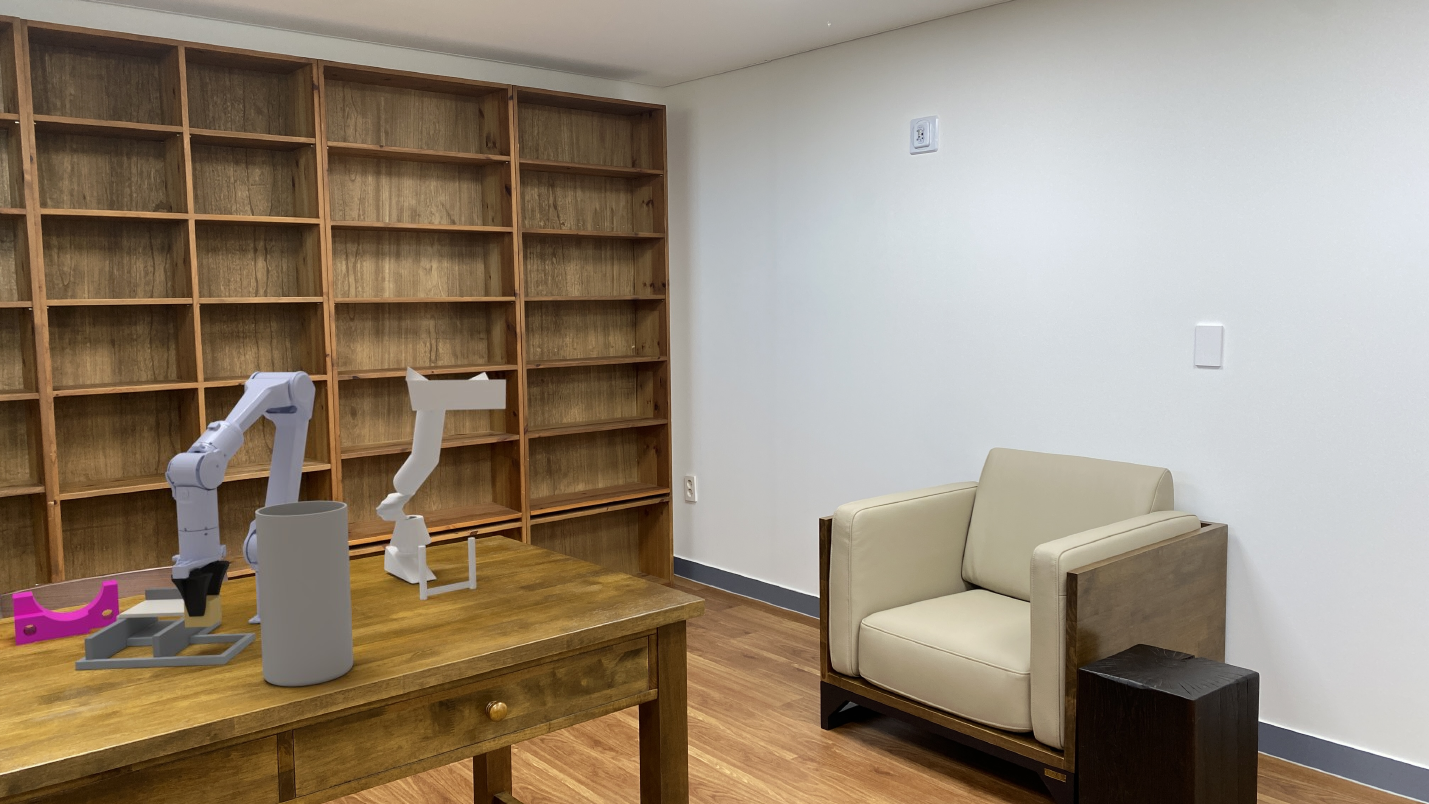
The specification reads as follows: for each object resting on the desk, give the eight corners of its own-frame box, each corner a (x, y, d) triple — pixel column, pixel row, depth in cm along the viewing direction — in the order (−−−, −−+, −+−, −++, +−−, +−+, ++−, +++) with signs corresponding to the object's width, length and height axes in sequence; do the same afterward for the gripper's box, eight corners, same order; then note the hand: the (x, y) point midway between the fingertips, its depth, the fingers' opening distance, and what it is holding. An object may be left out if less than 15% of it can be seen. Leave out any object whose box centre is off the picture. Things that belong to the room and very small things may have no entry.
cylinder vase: (367, 672, 146) (361, 507, 144) (282, 695, 137) (274, 519, 135) (332, 653, 155) (326, 498, 153) (250, 673, 146) (242, 508, 144)
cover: (220, 604, 171) (219, 585, 170) (195, 620, 161) (194, 601, 161) (147, 606, 170) (146, 588, 169) (116, 623, 160) (115, 603, 160)
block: (222, 619, 158) (220, 594, 157) (211, 626, 154) (210, 601, 153) (196, 620, 157) (195, 595, 157) (184, 627, 153) (183, 602, 153)
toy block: (16, 646, 161) (13, 601, 161) (15, 636, 166) (12, 593, 166) (121, 629, 170) (119, 586, 170) (117, 620, 175) (115, 579, 175)
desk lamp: (338, 584, 198) (329, 363, 195) (423, 569, 210) (415, 360, 207) (419, 624, 170) (410, 366, 167) (512, 603, 182) (505, 363, 179)
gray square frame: (276, 623, 172) (275, 598, 171) (224, 664, 150) (223, 635, 150) (146, 627, 170) (145, 602, 170) (75, 669, 149) (73, 640, 148)
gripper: (193, 519, 161) (197, 599, 162) (149, 538, 147) (154, 626, 148) (237, 518, 162) (241, 598, 163) (197, 536, 147) (202, 624, 148)
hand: (203, 611), depth 155 cm, fingers closed on block, 4 cm apart
